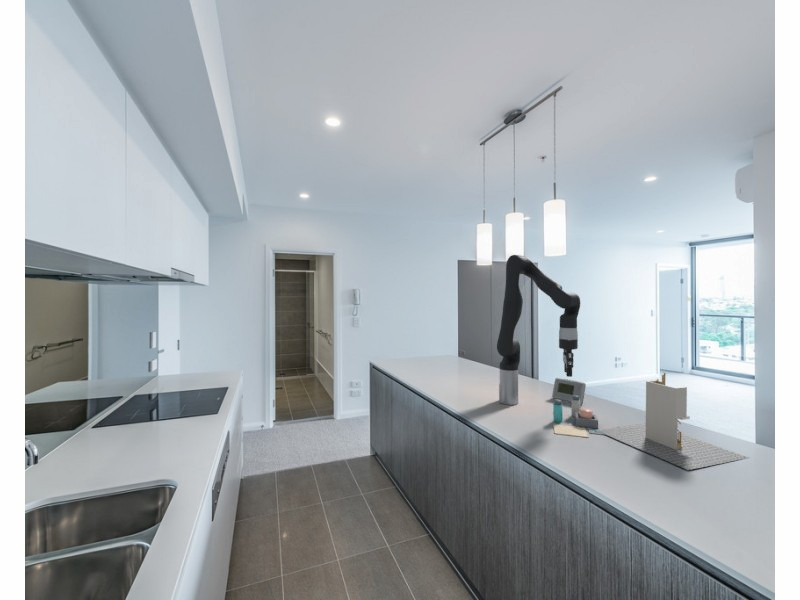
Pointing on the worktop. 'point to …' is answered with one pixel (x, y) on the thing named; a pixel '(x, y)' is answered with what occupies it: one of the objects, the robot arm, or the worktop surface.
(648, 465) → the worktop surface
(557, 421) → the marker teal
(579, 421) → the button housing
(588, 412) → the button
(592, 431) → the card
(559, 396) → the digital clock
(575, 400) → the marker grey
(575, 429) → the sketch pad
